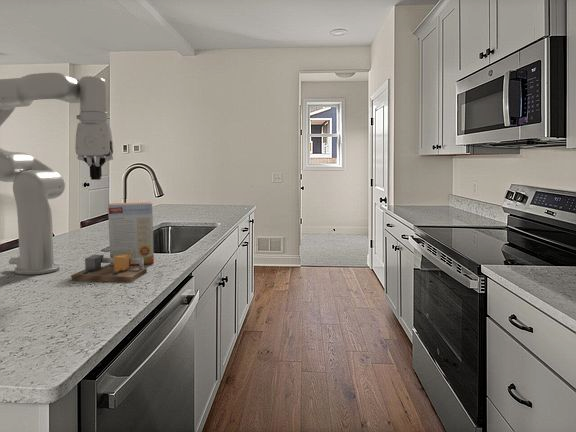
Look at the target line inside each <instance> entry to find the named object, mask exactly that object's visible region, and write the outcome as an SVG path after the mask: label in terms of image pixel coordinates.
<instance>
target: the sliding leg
mask: <svg viewBox="0 0 576 432" xmlns="http://www.w3.org/2000/svg"><path fill="white" fill-rule="evenodd" d="M130 257H131V254H121V255H117V256H115V257H114V270H113V273H116V272H118V271H120V270H126V269H127V268H130V265H129V258H130Z"/></svg>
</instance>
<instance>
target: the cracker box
mask: <svg viewBox="0 0 576 432" xmlns="http://www.w3.org/2000/svg"><path fill="white" fill-rule="evenodd" d="M107 211H108V213H107V214H108V215H107V216H108V237H109V238H108V241H109V258H114V257H115V256H117V255H121V254H131V257H130V258H142V259H144V265H152V264H154V263H155V261H154V260H155V255H154V224H153V222H154V221H153V220H154V219H153V203H152V202H150V201H149V202H117V203H116V202H115V203H108V204H107ZM109 264H110V267H114V263H109ZM134 265H135V266H137V265H139V264H129V266H134Z"/></svg>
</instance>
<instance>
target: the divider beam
mask: <svg viewBox="0 0 576 432" xmlns="http://www.w3.org/2000/svg"><path fill="white" fill-rule="evenodd" d="M110 263H114V258H110V257H104V254H92V255H90V256H88V257H85V258H84V266H85V268H84V270H85V271H84V274H86V273H89V272H95V271H97V270H100V269H101V267H102V264H110ZM129 264H139V267H138V268H139V269H144V268H145V264H144V259H142V258H129Z"/></svg>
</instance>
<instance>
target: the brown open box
mask: <svg viewBox="0 0 576 432" xmlns="http://www.w3.org/2000/svg"><path fill="white" fill-rule="evenodd" d="M113 270H114V267H112V266H108V267H107V266H101V269H100V270H97V271H95V272H89V273H86V274H84V271H85V269H81V271H78V272H76V273H75V272H74V273H73V274H71V275H70V278H71V279H70V280H71V281H80V282H82V281H83V282H84V281H85V282H87V281H88V282H116V283H117V282H118V283H120V282H121V283H122V282H123V283H133V282H134V281H135V280H137V279H139V278H140V277H142V276H143V275H146V274H147V273H148V272H147V271H148V270H147V267H146V268H145V267H144V269H139V267H129V268H127V269H126V270H120V271H118V272H116V273H113Z"/></svg>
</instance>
